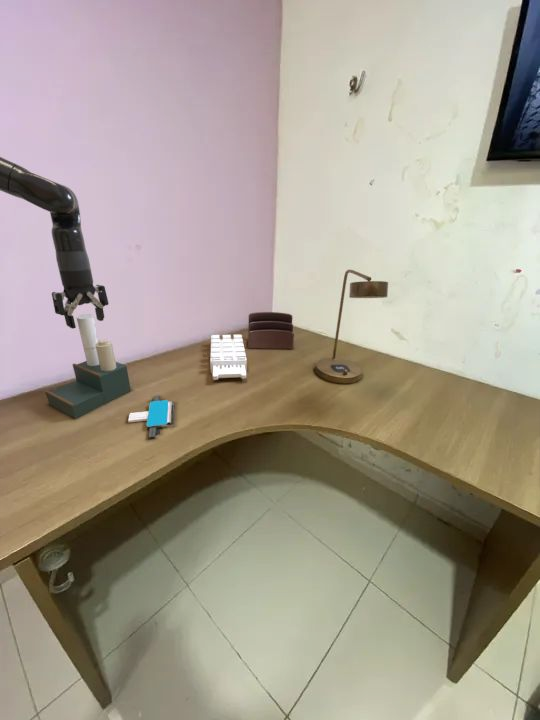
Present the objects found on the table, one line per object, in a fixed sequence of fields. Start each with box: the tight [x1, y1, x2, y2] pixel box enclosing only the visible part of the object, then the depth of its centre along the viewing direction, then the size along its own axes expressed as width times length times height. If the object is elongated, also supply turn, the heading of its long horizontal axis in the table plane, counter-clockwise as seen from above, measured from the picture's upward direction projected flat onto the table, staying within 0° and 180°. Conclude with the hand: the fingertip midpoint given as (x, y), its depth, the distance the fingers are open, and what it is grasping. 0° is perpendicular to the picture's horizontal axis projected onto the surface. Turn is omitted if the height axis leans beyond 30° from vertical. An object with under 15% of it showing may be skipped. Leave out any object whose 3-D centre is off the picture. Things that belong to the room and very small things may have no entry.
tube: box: [75, 313, 99, 366], centre depth 93 cm, size 4×4×15 cm
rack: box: [44, 360, 132, 419], centre depth 93 cm, size 13×18×10 cm
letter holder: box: [247, 311, 295, 350], centre depth 137 cm, size 10×20×14 cm, turn 93°
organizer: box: [209, 334, 248, 381], centre depth 121 cm, size 13×5×35 cm
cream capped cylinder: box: [95, 338, 117, 371], centre depth 92 cm, size 4×4×9 cm
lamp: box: [315, 269, 389, 385], centre depth 105 cm, size 17×27×38 cm, turn 8°
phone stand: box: [127, 395, 175, 440], centre depth 87 cm, size 20×12×2 cm, turn 15°
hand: (86, 323), depth 91 cm, fingers open, 8 cm apart
